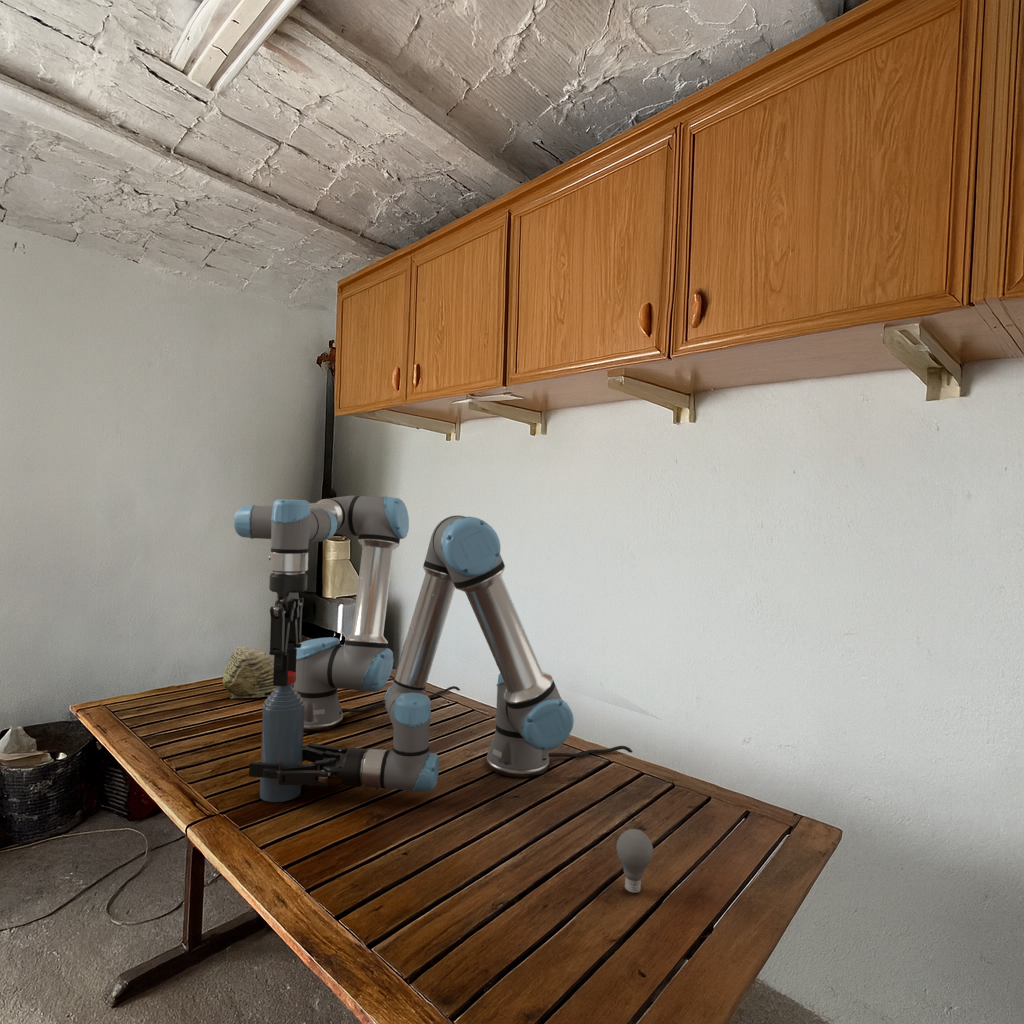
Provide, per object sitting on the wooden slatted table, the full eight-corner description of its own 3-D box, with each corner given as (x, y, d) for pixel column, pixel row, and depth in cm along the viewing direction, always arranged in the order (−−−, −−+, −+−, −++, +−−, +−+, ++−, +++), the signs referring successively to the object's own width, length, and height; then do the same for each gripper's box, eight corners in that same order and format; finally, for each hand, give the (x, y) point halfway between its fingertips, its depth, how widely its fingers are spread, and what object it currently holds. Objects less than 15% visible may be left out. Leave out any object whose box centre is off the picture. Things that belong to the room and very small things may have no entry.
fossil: (218, 695, 195) (220, 647, 195) (278, 685, 208) (279, 640, 207) (228, 703, 189) (230, 653, 188) (289, 692, 201) (290, 645, 201)
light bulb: (610, 879, 108) (613, 822, 108) (644, 879, 109) (647, 822, 109) (619, 902, 102) (622, 840, 102) (655, 901, 103) (658, 840, 103)
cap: (269, 681, 134) (270, 672, 134) (290, 677, 137) (290, 669, 137) (278, 686, 131) (279, 677, 131) (299, 682, 134) (299, 674, 134)
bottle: (250, 797, 132) (254, 679, 132) (277, 781, 140) (281, 669, 140) (283, 805, 129) (288, 684, 129) (309, 788, 137) (313, 674, 137)
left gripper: (285, 567, 143) (282, 670, 143) (254, 576, 125) (249, 693, 126) (319, 568, 143) (315, 671, 143) (292, 578, 125) (287, 695, 126)
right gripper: (347, 809, 123) (234, 801, 124) (377, 764, 144) (281, 757, 146) (349, 771, 123) (236, 763, 124) (379, 731, 144) (282, 725, 145)
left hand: (284, 681), depth 134 cm, fingers closed on cap, 4 cm apart
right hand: (260, 760), depth 135 cm, fingers closed on bottle, 8 cm apart
